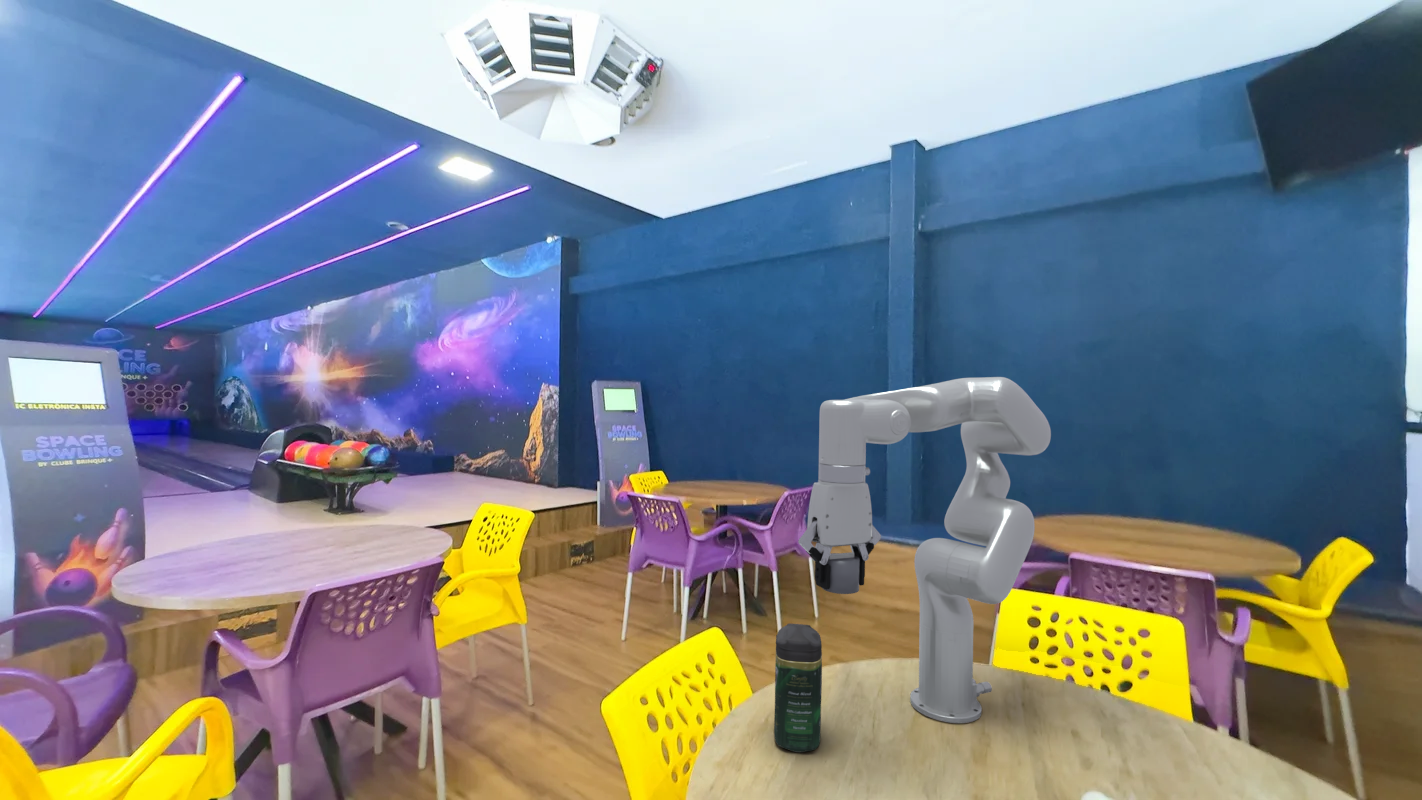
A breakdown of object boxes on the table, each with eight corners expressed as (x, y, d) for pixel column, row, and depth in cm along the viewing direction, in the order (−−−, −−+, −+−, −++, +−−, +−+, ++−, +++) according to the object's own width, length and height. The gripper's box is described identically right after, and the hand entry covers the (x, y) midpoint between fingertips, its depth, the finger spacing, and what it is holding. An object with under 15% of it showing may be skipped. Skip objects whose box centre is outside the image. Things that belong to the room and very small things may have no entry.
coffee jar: (822, 756, 98) (823, 642, 98) (773, 752, 99) (774, 639, 99) (819, 725, 108) (821, 620, 108) (775, 721, 109) (776, 618, 109)
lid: (844, 581, 103) (845, 548, 103) (866, 591, 98) (867, 557, 98) (814, 584, 101) (815, 551, 101) (835, 595, 96) (835, 560, 96)
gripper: (870, 471, 106) (868, 574, 106) (784, 473, 100) (782, 583, 100) (899, 476, 99) (897, 586, 99) (808, 479, 93) (806, 597, 93)
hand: (839, 584), depth 99 cm, fingers closed on lid, 5 cm apart
